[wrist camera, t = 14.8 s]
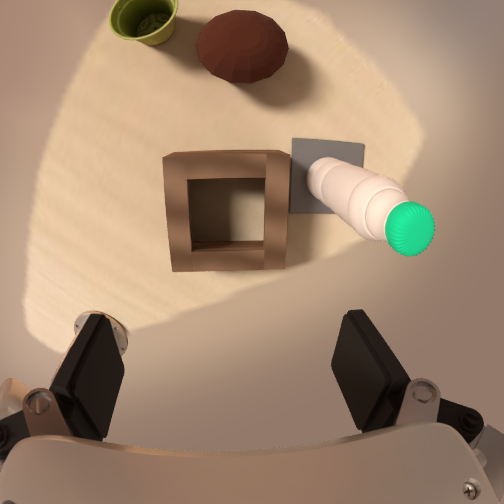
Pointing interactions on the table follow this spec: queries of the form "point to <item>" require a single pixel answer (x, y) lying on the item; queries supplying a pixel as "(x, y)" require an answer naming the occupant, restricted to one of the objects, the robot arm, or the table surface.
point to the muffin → (242, 46)
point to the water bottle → (372, 205)
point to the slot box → (228, 252)
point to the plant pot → (143, 20)
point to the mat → (302, 160)
